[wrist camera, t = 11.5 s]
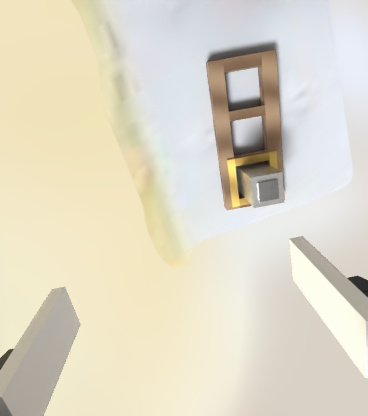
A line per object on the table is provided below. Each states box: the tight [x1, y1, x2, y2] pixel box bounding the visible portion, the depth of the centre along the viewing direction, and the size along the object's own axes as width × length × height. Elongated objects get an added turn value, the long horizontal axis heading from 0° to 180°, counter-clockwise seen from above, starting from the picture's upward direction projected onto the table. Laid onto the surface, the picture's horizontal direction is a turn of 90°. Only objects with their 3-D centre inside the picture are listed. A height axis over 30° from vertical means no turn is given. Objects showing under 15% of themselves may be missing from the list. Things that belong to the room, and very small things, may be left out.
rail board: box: [206, 50, 285, 210], centre depth 45 cm, size 23×10×2 cm, turn 10°
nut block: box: [236, 162, 284, 208], centre depth 44 cm, size 4×4×9 cm
